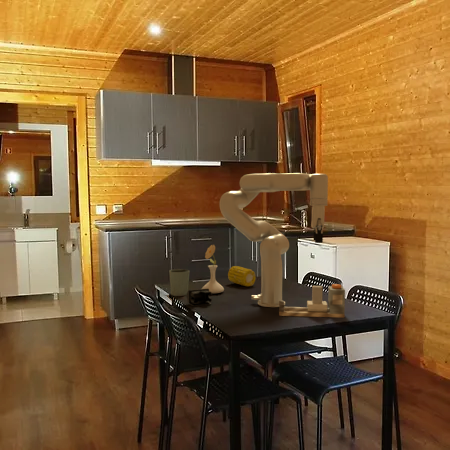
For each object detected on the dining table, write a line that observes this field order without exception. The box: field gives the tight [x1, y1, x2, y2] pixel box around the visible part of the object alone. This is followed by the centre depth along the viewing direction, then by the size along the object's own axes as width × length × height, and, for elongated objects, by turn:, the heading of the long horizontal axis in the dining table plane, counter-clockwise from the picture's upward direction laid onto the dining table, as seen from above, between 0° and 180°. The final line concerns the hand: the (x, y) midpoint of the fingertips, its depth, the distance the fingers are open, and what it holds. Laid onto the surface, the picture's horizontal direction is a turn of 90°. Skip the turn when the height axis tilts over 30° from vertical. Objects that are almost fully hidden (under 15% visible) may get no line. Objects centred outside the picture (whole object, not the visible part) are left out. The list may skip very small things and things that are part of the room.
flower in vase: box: [201, 244, 225, 294], centre depth 261 cm, size 13×11×25 cm
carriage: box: [306, 285, 328, 311], centre depth 218 cm, size 8×7×10 cm
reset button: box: [331, 283, 343, 289], centre depth 217 cm, size 4×4×1 cm
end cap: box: [186, 288, 213, 307], centre depth 237 cm, size 10×7×7 cm
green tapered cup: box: [168, 268, 191, 297], centre depth 258 cm, size 10×10×12 cm
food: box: [227, 265, 257, 288], centre depth 283 cm, size 15×12×10 cm
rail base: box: [278, 285, 346, 318], centre depth 218 cm, size 27×8×12 cm, turn 84°
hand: (317, 241), depth 224 cm, fingers open, 9 cm apart
